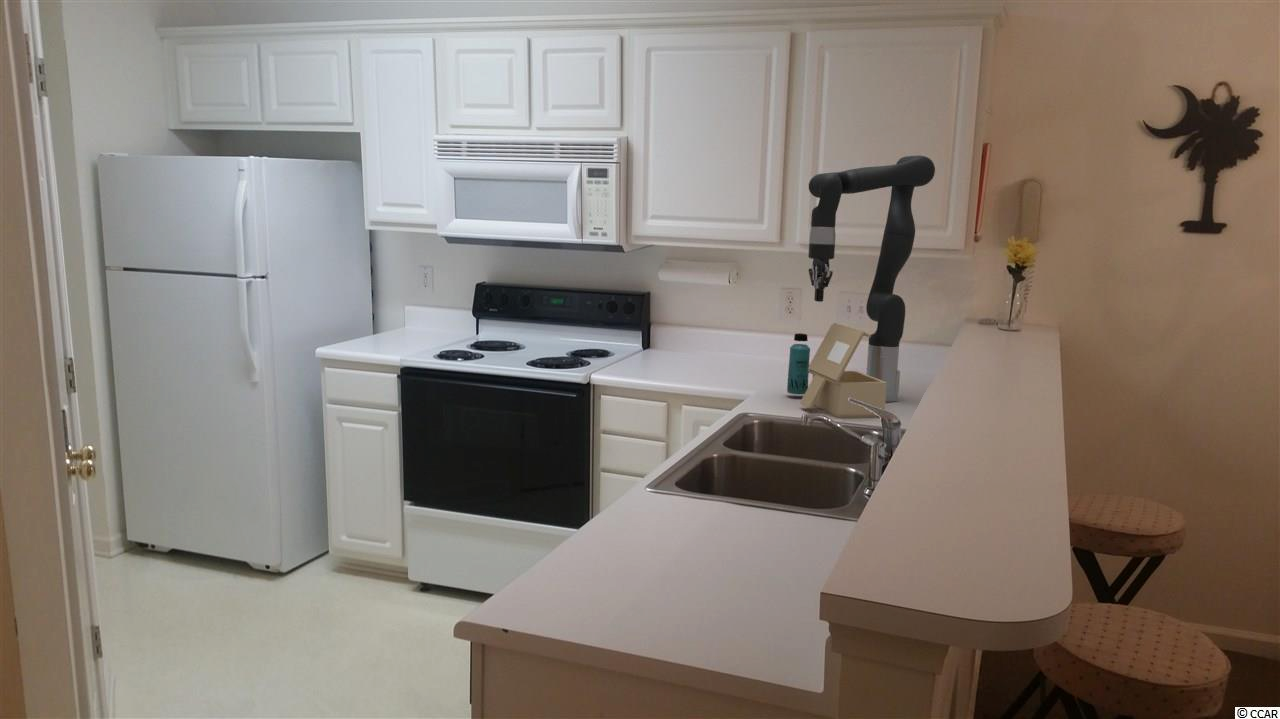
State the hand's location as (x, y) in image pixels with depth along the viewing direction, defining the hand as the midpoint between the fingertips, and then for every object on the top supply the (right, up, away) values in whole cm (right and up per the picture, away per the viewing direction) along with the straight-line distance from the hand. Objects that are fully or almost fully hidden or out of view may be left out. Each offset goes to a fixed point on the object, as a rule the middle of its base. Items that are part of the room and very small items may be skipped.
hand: (818, 301), depth 280 cm
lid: (+3, -20, -6) cm, 22 cm away
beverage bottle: (-4, -29, +14) cm, 33 cm away
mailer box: (+7, -32, -4) cm, 33 cm away
